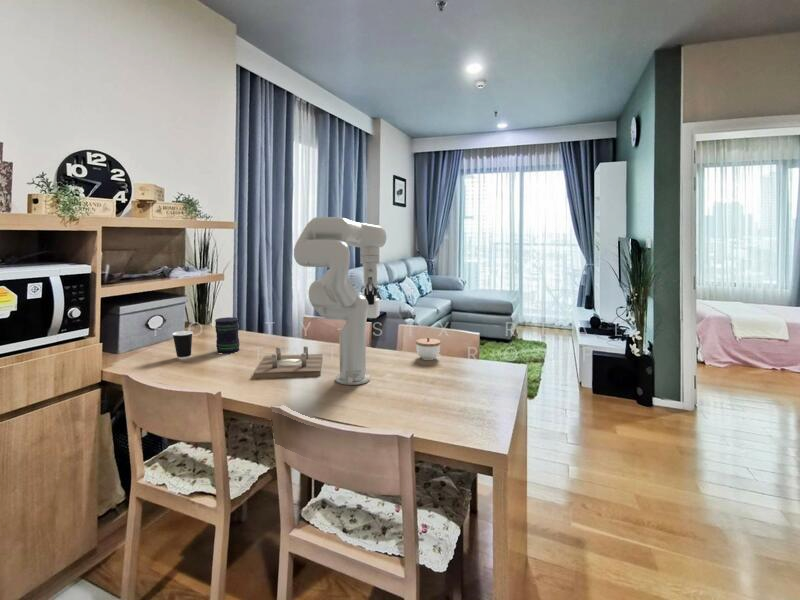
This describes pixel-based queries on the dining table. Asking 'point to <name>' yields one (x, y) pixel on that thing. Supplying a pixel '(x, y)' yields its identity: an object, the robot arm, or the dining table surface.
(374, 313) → the medicine bottle
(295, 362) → the peg board
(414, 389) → the dining table surface
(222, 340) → the storage jar
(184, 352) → the dixie cup
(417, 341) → the lidded jar
